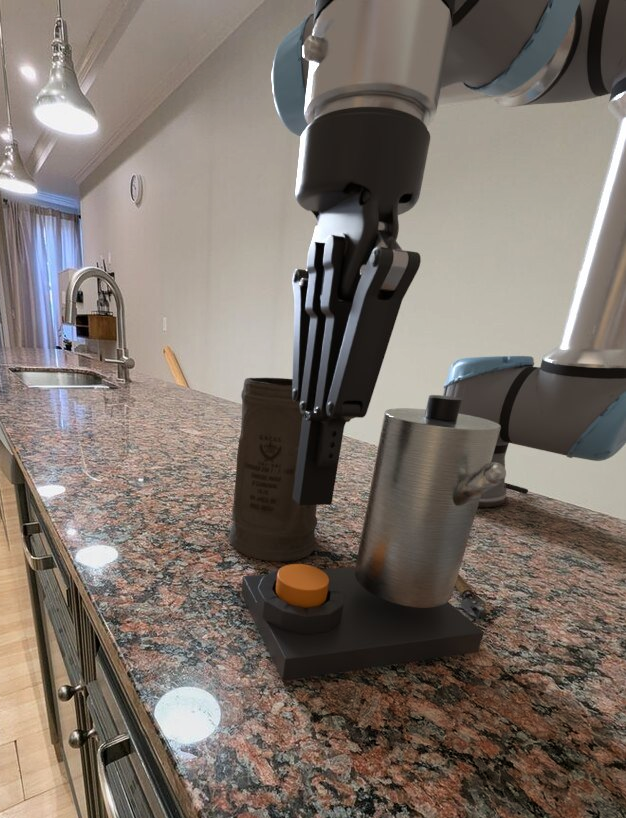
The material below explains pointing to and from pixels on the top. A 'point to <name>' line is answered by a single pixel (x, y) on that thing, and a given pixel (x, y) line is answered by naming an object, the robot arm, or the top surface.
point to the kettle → (425, 501)
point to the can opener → (469, 599)
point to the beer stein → (270, 476)
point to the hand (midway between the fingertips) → (311, 501)
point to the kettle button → (302, 585)
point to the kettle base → (352, 628)
